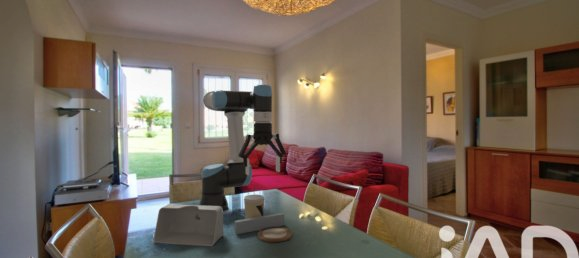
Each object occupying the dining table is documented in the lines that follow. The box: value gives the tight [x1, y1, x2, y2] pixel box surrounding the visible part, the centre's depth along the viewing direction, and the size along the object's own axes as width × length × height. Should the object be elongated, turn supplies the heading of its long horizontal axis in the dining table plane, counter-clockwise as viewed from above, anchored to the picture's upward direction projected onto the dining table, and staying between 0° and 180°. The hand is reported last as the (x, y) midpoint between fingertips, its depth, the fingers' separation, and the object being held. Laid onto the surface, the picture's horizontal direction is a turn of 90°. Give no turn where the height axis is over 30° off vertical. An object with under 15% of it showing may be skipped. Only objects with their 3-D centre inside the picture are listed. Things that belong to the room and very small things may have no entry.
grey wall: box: [234, 212, 285, 235], centre depth 119 cm, size 2×22×5 cm, turn 116°
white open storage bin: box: [153, 203, 224, 247], centre depth 113 cm, size 25×16×12 cm, turn 81°
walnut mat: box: [257, 226, 293, 244], centre depth 113 cm, size 14×14×1 cm
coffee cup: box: [243, 194, 265, 219], centre depth 127 cm, size 9×9×12 cm
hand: (263, 173), depth 116 cm, fingers open, 13 cm apart
